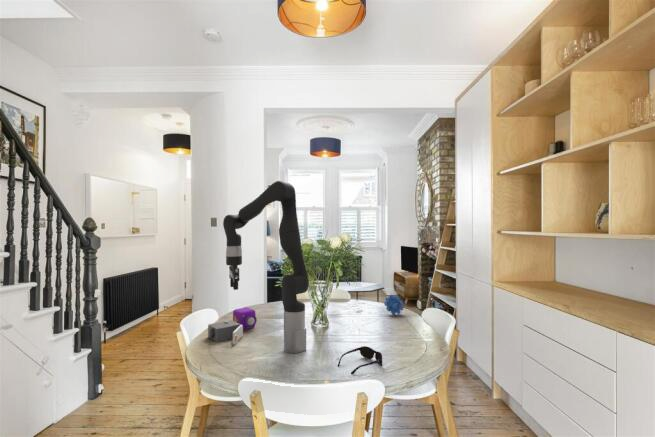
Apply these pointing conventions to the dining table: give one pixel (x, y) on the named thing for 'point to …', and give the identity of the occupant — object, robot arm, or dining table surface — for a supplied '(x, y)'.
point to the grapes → (394, 304)
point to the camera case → (222, 330)
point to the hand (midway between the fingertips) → (234, 288)
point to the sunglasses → (366, 356)
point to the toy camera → (245, 317)
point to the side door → (237, 334)
